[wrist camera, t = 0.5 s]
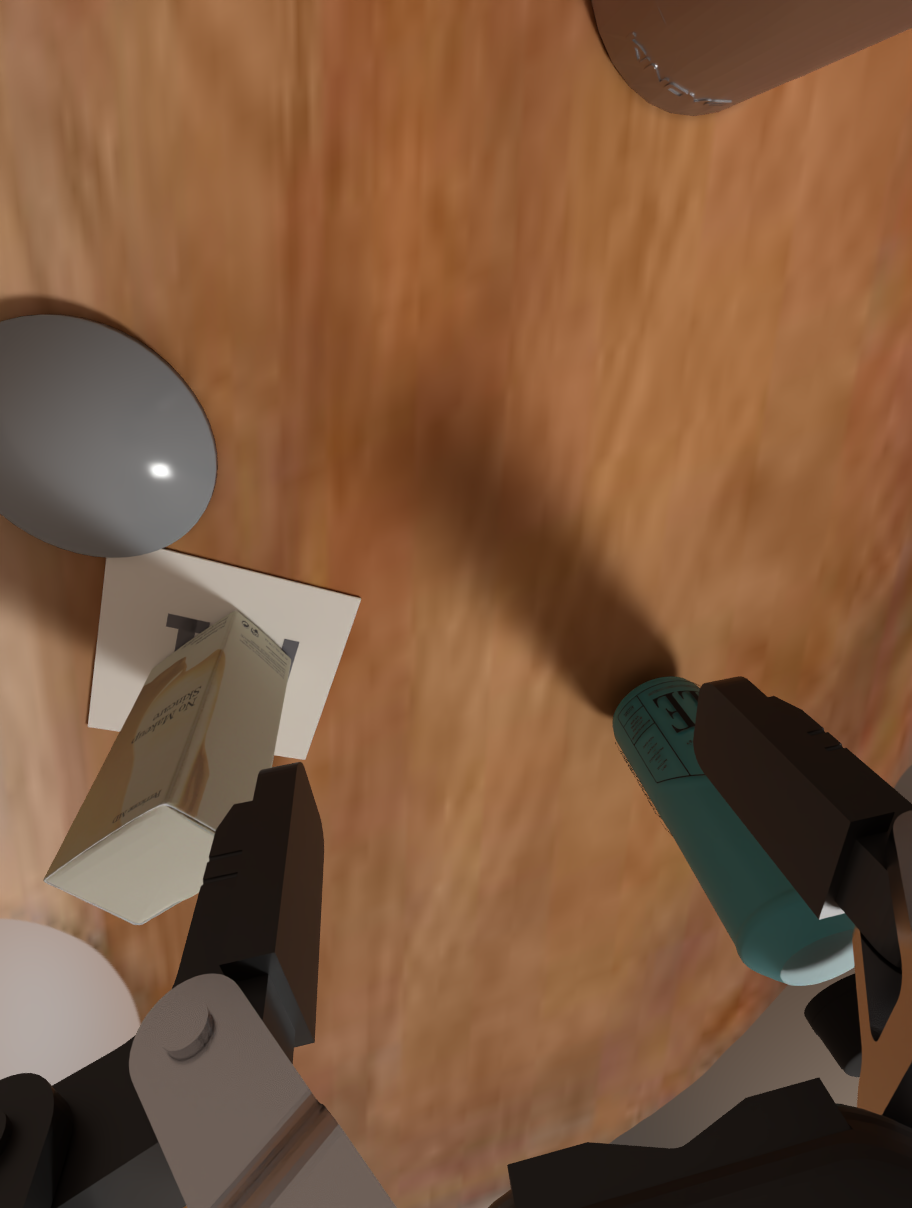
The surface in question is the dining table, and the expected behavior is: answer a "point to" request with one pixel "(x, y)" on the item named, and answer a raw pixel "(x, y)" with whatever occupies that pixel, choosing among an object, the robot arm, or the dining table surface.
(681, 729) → the beverage bottle
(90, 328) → the slate coaster
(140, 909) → the skincare box
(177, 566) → the card
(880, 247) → the dining table surface
